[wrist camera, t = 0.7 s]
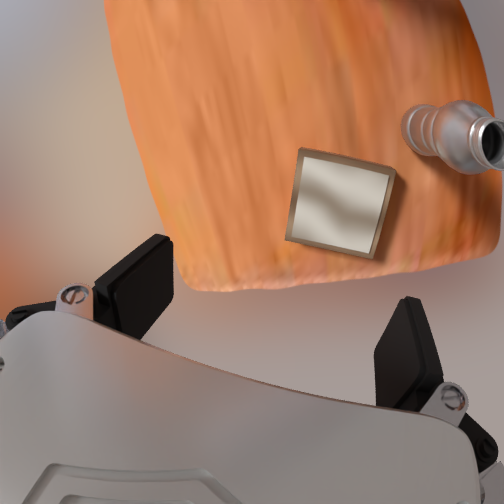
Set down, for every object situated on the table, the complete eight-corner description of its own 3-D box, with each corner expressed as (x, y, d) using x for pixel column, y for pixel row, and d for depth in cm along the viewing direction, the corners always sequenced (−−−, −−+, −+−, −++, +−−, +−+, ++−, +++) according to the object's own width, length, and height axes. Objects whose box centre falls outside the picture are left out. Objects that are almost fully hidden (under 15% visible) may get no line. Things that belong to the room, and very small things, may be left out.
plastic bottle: (444, 153, 30) (532, 192, 13) (399, 153, 32) (462, 191, 15) (440, 105, 27) (529, 103, 10) (393, 104, 29) (455, 92, 12)
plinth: (301, 147, 35) (298, 149, 32) (391, 166, 33) (396, 171, 30) (287, 231, 41) (284, 240, 38) (370, 249, 39) (372, 260, 36)
